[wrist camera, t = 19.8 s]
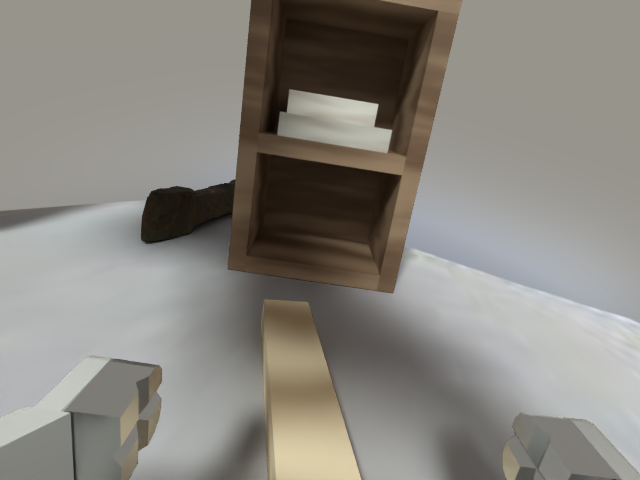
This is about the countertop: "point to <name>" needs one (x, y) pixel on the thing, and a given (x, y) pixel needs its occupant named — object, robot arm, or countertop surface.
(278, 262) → the wooden shelf
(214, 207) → the hand tool
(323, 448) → the oak slat
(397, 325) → the countertop surface
